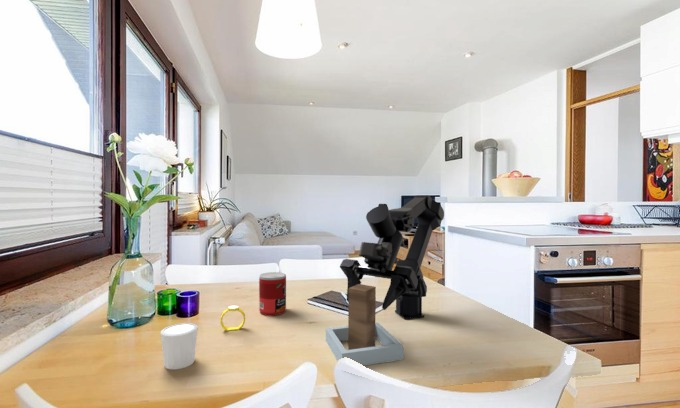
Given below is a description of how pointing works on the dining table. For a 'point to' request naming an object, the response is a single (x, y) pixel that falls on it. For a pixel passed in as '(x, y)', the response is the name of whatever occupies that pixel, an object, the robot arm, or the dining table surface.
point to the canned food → (272, 293)
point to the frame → (365, 356)
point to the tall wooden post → (361, 316)
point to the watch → (232, 308)
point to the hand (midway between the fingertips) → (365, 304)
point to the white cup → (179, 345)
